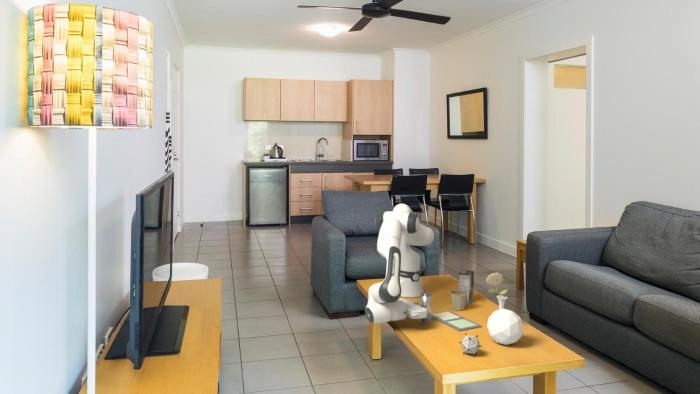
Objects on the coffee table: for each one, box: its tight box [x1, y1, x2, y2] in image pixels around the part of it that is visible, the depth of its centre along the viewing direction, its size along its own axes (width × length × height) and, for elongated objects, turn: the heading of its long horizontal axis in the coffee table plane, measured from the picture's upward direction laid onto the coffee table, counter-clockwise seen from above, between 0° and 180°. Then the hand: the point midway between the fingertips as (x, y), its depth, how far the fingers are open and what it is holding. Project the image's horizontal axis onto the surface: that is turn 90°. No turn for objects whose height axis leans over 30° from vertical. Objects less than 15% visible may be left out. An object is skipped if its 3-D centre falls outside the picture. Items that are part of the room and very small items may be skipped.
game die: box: [458, 332, 483, 357], centre depth 204 cm, size 9×8×10 cm
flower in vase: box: [485, 272, 508, 310], centre depth 237 cm, size 13×11×25 cm
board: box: [430, 310, 483, 332], centre depth 243 cm, size 24×13×1 cm, turn 27°
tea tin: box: [420, 291, 432, 325], centre depth 241 cm, size 5×5×14 cm
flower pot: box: [449, 289, 468, 312], centre depth 262 cm, size 9×9×9 cm
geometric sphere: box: [486, 308, 524, 346], centre depth 216 cm, size 14×15×15 cm
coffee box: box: [457, 269, 475, 305], centre depth 275 cm, size 9×6×16 cm
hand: (423, 306), depth 241 cm, fingers open, 8 cm apart
